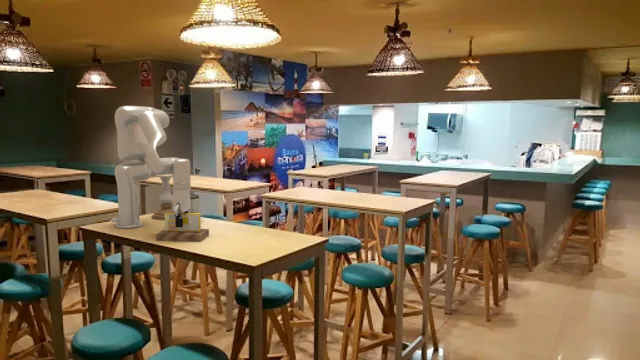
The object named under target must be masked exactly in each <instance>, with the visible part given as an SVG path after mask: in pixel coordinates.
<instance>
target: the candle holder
mask: <svg viewBox="0 0 640 360" xmlns="http://www.w3.org/2000/svg"><path fill="white" fill-rule="evenodd" d="M155 177H156V178H159V180H160V181H161V182H162V183H161V185H160V188H161V189H162V192H161V194H160V196H159V198H158V201H159V202H160V203H161V204H160V209H158V211H155V212H153V215H151V218H152V219H153V220H160V221H165V213H174V212H173V194H172V193H171V192H170V189H171V184H170V180H171V179H172V178H173V174H166V175H157V174H155Z"/></svg>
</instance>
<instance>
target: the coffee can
mask: <svg viewBox="0 0 640 360" xmlns="http://www.w3.org/2000/svg"><path fill="white" fill-rule="evenodd" d="M199 199H200V194H195V193H193V194H191V193H190V211H189V212H190V213H199V214H200V200H199Z"/></svg>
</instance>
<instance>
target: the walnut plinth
mask: <svg viewBox="0 0 640 360" xmlns="http://www.w3.org/2000/svg"><path fill="white" fill-rule="evenodd" d="M209 236H210V229H209V228H201V231H200V232H183V231H165V228H164V229H162V230H161V231H158V232H156V233H155V241H157V242H158V241H160V242H162V241H163V242H190V243H191V242H192V243H193V242H194V243H195V242H196V243H201V242H202V241H203V240H205V239H206V238H208V237H209Z"/></svg>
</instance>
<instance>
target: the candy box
mask: <svg viewBox="0 0 640 360" xmlns="http://www.w3.org/2000/svg"><path fill="white" fill-rule="evenodd" d="M179 214H180V213H179ZM182 218H183V227H182V228H181V227H176V225H175V213H165V220H164V229H165V231H183V232H200V231H201V229H202V228H201V227H202V226H201V224H202V223H201V222H202V221H201V218H202V216H201V213H200V212H199V213H183V215H182Z"/></svg>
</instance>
